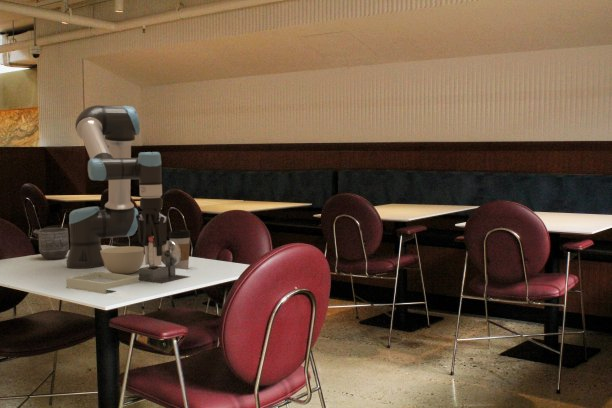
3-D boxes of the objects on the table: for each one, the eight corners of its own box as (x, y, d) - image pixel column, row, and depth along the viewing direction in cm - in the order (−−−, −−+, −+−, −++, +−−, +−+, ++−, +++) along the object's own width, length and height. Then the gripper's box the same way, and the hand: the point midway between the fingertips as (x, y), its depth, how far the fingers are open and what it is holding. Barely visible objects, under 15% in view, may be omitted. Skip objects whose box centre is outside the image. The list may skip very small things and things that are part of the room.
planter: (33, 259, 293) (31, 230, 292) (53, 255, 304) (52, 227, 303) (55, 261, 288) (53, 231, 287) (75, 256, 299) (74, 228, 298)
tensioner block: (129, 283, 237) (127, 243, 236) (159, 276, 249) (157, 238, 247) (161, 287, 228) (160, 246, 227) (191, 280, 240) (189, 241, 238)
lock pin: (147, 279, 235) (146, 237, 234) (154, 278, 238) (152, 236, 236) (153, 280, 234) (152, 237, 233) (159, 278, 236) (158, 236, 235)
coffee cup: (186, 271, 260) (185, 231, 258) (166, 270, 261) (164, 231, 260) (194, 267, 268) (193, 229, 267) (174, 266, 269) (173, 229, 268)
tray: (66, 287, 231) (66, 277, 231) (100, 280, 243) (99, 271, 242) (105, 293, 220) (105, 283, 220) (138, 286, 231) (138, 276, 231)
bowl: (142, 279, 243) (141, 252, 242) (96, 281, 242) (95, 253, 241) (149, 271, 259) (148, 245, 258) (106, 273, 258) (105, 247, 257)
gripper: (125, 197, 235) (128, 264, 237) (160, 198, 226) (162, 268, 227) (142, 195, 241) (144, 261, 243) (176, 197, 232) (178, 265, 234)
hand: (153, 264), depth 235 cm, fingers open, 4 cm apart
